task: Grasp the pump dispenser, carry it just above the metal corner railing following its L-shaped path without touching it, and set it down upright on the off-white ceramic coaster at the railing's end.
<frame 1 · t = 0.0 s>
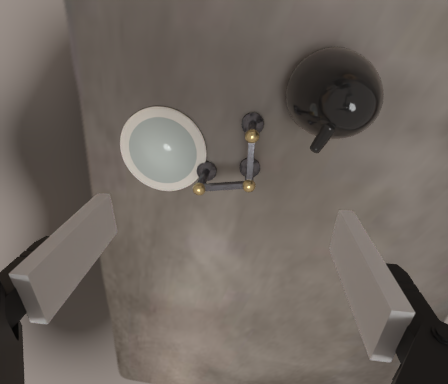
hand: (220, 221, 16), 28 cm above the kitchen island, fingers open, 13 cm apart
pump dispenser: (320, 89, 38), on the kitchen island
metal corner railing: (252, 123, 41), on the kitchen island
coaster: (163, 150, 44), on the kitchen island
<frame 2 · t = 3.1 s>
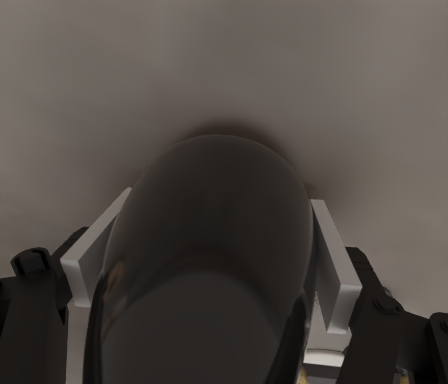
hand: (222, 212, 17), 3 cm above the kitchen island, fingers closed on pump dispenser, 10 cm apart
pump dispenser: (228, 190, 19), on the kitchen island, touching gripper
metal corner railing: (283, 291, 23), on the kitchen island
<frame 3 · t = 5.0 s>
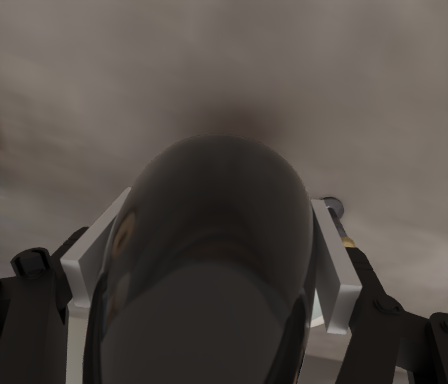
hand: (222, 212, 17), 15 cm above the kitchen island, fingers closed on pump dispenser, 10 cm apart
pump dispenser: (227, 190, 19), point 12 cm above the kitchen island, touching gripper
metal corner railing: (268, 204, 33), on the kitchen island
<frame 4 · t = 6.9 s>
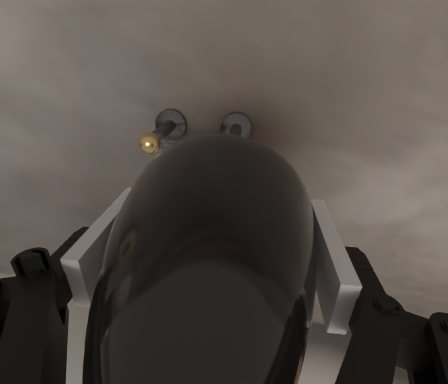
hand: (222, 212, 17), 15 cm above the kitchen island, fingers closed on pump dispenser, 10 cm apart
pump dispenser: (228, 190, 19), point 12 cm above the kitchen island, touching gripper
metal corner railing: (171, 124, 30), on the kitchen island
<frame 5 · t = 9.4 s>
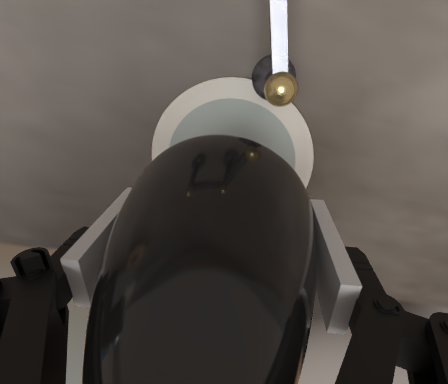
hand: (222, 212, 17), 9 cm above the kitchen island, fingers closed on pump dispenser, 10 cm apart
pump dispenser: (228, 191, 19), point 6 cm above the kitchen island, touching gripper
coaster: (231, 161, 24), on the kitchen island
when the fingers open (5 cm above the kitchen island, at t = 11.0 s): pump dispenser drops 2 cm, resting on coaster.
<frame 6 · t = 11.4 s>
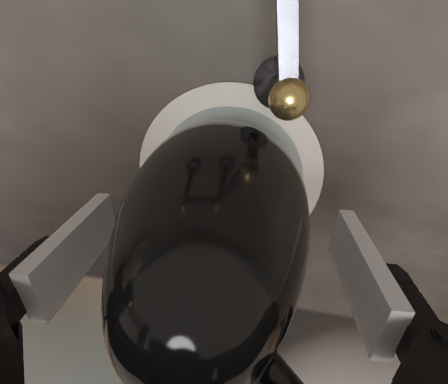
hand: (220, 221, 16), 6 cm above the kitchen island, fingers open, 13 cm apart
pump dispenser: (228, 181, 21), point 1 cm above the kitchen island, touching coaster
coaster: (229, 177, 22), on the kitchen island
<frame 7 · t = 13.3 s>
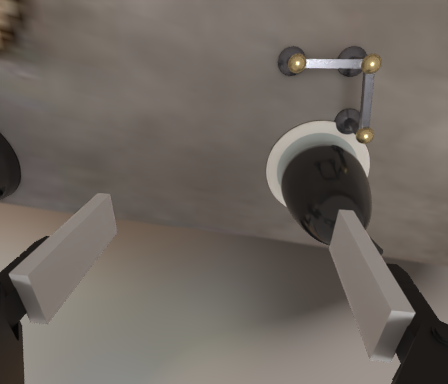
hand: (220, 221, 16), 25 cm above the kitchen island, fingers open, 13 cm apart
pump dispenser: (316, 171, 39), point 1 cm above the kitchen island, touching coaster
metal corner railing: (291, 61, 34), on the kitchen island
coaster: (315, 169, 39), on the kitchen island
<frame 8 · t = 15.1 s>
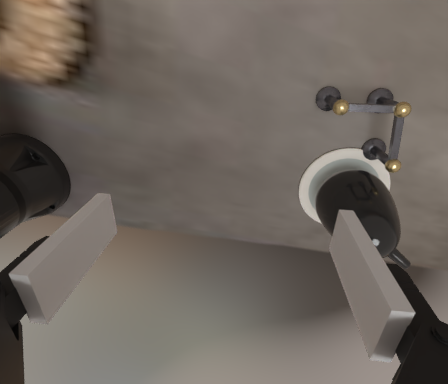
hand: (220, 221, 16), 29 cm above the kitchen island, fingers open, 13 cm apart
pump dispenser: (343, 190, 45), point 1 cm above the kitchen island, touching coaster
metal corner railing: (327, 98, 39), on the kitchen island
coaster: (342, 188, 45), on the kitchen island
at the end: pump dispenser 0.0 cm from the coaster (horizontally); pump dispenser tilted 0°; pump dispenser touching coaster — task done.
